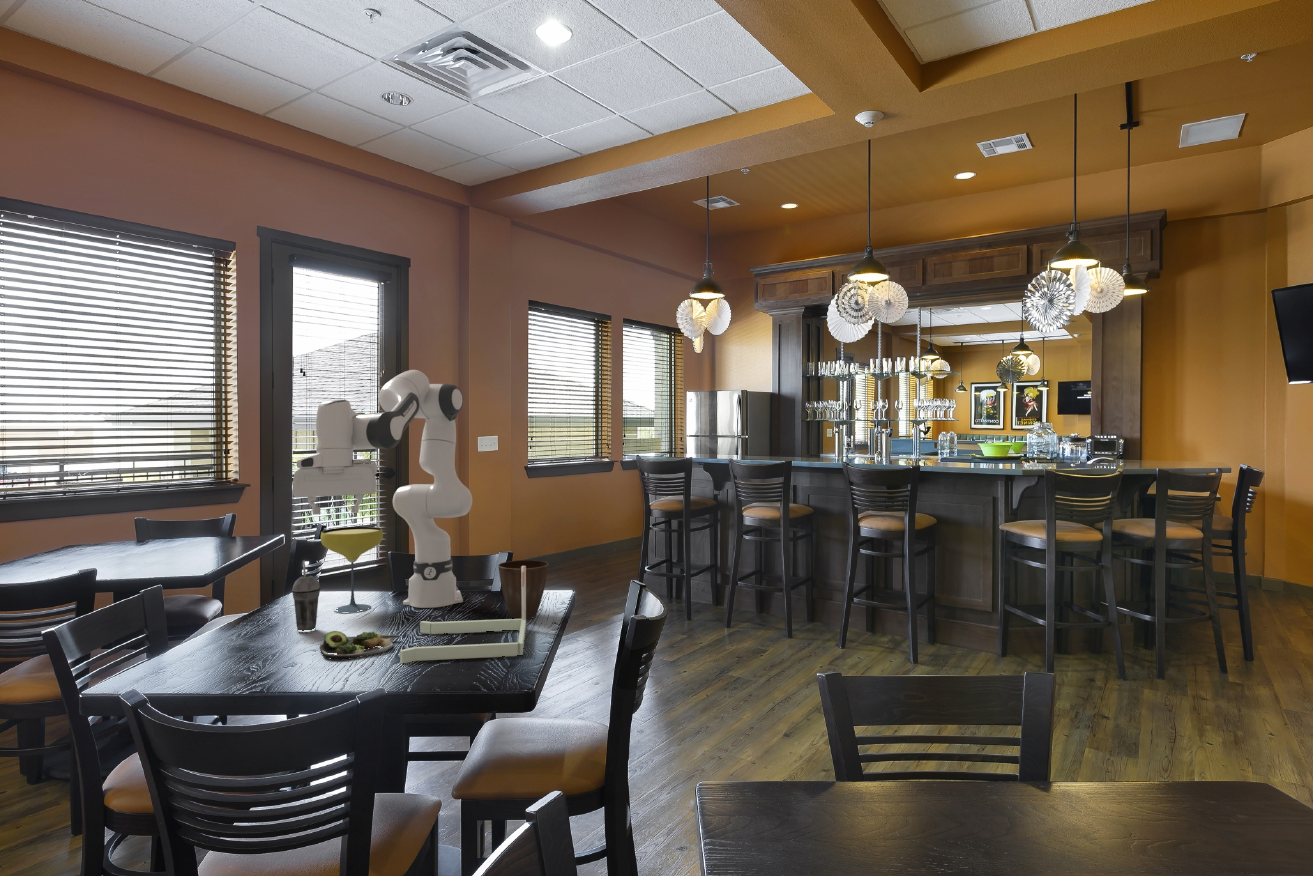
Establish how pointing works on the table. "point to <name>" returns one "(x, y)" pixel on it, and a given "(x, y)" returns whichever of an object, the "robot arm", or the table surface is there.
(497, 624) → the corral
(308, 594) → the beverage cup
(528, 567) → the plant pot
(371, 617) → the table surface
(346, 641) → the avocado toast plate
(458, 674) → the table surface
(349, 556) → the cocktail glass
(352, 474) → the robot arm
